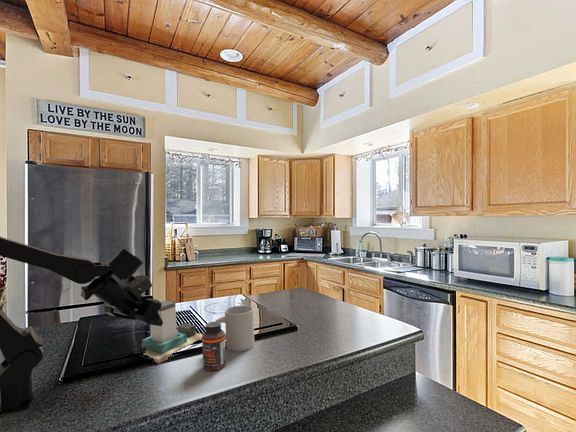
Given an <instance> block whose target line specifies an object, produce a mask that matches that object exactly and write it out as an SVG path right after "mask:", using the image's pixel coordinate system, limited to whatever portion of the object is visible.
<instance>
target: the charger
mask: <svg viewBox="0 0 576 432" xmlns="http://www.w3.org/2000/svg"><path fill="white" fill-rule="evenodd" d="M160 302H161V303H162V306H161V307H160V309H159V310H158V313H159V315H160V317H161V319H162V321H163V324H162V326H156V325H150V326H151V336H152V341H155V342H158V343H162V344H163V343H165V342H167V341H169V340H172V339H174V338H176V337H177V330H178V326H177V308H176V302H174V301H168V300H163V301H160Z"/></svg>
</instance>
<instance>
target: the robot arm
mask: <svg viewBox="0 0 576 432" xmlns="http://www.w3.org/2000/svg"><path fill="white" fill-rule="evenodd" d="M0 257H2V258H6V259H9V260H14V261H17V262H20V263H24V264H28V265H32V266H34V267H38V268H42V269H46V270H49V271H51V272H53V273H56V275H59V276H60V277H63V278H66V279H67V280H69V281H71V282H74V283H76V284H80V285H84V286H81V287H80V290H81V291H80V296H81V297H82V299H83V300H85V301H89V299H90V298H91V297H92V296H95V297H96V298H97V299H99V300H100V301H102V302H103V305H104V308H103V309H104V313H106V314H107V315H109V316H112V317H115V318H119V319H120V318H121V319H126V320H131V321H137V322H139V323H140V324H143V325H149V326H151V325H156V326H162V324H163V321H162V319H161V317H160V315H159V313H158V310H159V309H160V307H161V306H162V303H161V302H162V301H160V300H158V299H156V298H152V297H151V298H146V299H144V300H143V301H142V302H141V299H142V298H143V294H144V293H145V292H146V291H147V290H148V289H151V288H152V287H153V283H152V282H151V280H150V277H149V276H148V275H142V274H140V275H139V274H138V275H136V276H133V275H135V273H136V272H137V271H138V270H139V269H140V268H141V267H142V266H143V264H144V262H143V261H142V260H141V259H140V258H139V257H138V256H136V255H135V254H132V253H131V252H130V251H128V250H127V249H125V248H124V247H123V248H120V249H119V251H117V253H116V255H114V256H113V257H112V258H111V259H110V260H109V261H108V262H103V261H101V262H99V261H98V262H96V261H95V262H94V261H92V260H91V259H89V258H86V257H80V256H74V255H73V256H72V255H65V254H59V253H58V254H57V253H55V252H51V251H48V250H44V249H41V248H38V247H34V246H32V245H29V244H26V243H25V244H24V243H21V242H18V241H15V240H13V239H9V238H5V237H3V236H0ZM113 276H115V277H116V278H117V279H119V280H120V281H123V280H124V285H123V284H122V283H120V282H119V281H117V280H116V279H115V278H114V277H113ZM0 353H1V354H2V356H3V358H4V359H3V360H2V361H1V363H0V414H4V413H7V412H13V411H19V410H24V409H28V408H29V407H31V406H32V404H33V403H34V401H35V400H36V399H37V398H38V396H39V395H40V393H41V390H40V389H39V390H34V377H33V370H34V369H35V368H36V367H37V366H38V365H39V364H40V363H41V361H42V359H43V337H42V336H40V335H38V334H37V333H36V332H35V330H34V329H33V327H32V326H31V325H29V326H28V327H26V328H25V329H23V328H21V327H19V326H18V325H16V324H15V323H14V322H13V320H11V319H10V318H9V316H7V315H6V313H5V312H3V311H2V310H1V309H0Z"/></svg>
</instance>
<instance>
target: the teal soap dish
mask: <svg viewBox="0 0 576 432" xmlns="http://www.w3.org/2000/svg"><path fill="white" fill-rule="evenodd" d="M196 329H197V328H196V325H195V324H192V323H191V324H190V323H186V322H184V323H182V324H180V325H177V337H176V338H174V339H172V340H169V341H167V342H165V343H163V344H162V343H158V342H155V341H152V335H150V336H148V337H145V338H143V339H141V345H142V348H145V349H146V351H145V353H143V354H144V355H147V356H149V357H151V358H153V359H154V361H155V362H154V363H157V364H161V363H163V362H165V361H167V360H169V359H168V357H169V356H170V355H172V354H173V353H174V352H177V351H179V350H181V349H182V348H185V347H187V346H189V345H191V344H193V343H194V342H196V341H198V340H200V339H202V335H203V333H198V332H197V330H196Z"/></svg>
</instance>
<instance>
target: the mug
mask: <svg viewBox="0 0 576 432" xmlns="http://www.w3.org/2000/svg"><path fill="white" fill-rule="evenodd" d="M214 322H220V323H221V324H222V323H223V324H224V325H225V348H226V349H227V350H229V351H231V352H245V351H248V350H250V349H252V348H254V346H255V344H256V343H255V324H254V308H253V307H252V306H250V305H249V306H248V305H234V306H231V307H228V308H226V309H225V311H224V316H222V317H219V318H217V319H216V320H215V321H214Z"/></svg>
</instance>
